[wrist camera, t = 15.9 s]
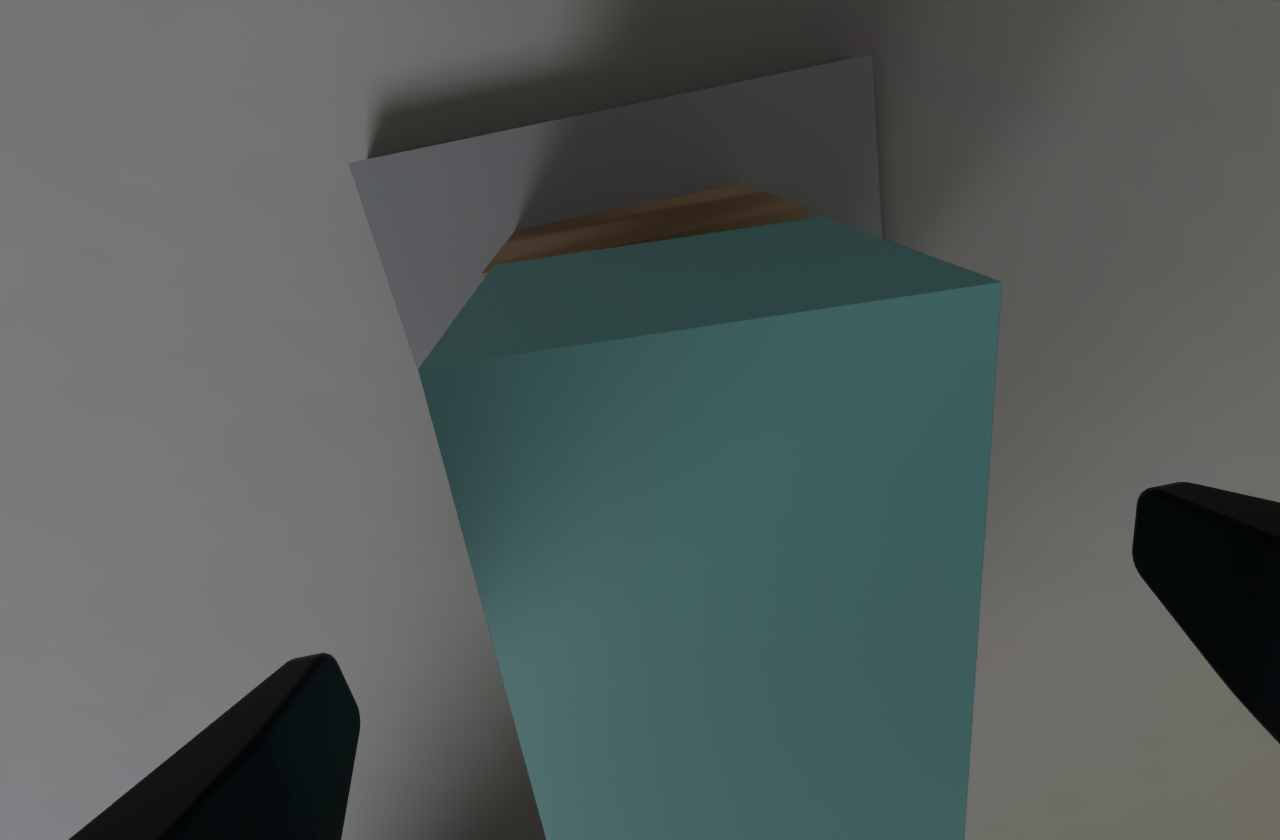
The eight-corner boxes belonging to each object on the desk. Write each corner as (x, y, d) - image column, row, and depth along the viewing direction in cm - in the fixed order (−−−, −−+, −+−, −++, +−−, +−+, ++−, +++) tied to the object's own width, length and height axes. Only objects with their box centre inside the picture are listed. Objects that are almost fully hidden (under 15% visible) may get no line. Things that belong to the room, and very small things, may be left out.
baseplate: (497, 567, 20) (492, 592, 19) (365, 161, 16) (348, 162, 14) (880, 490, 20) (897, 511, 19) (852, 59, 15) (872, 53, 14)
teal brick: (573, 634, 13) (564, 905, 9) (493, 265, 10) (418, 368, 6) (833, 594, 13) (964, 841, 9) (821, 216, 11) (1001, 282, 6)
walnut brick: (585, 506, 18) (583, 636, 13) (514, 230, 15) (481, 273, 11) (777, 467, 18) (842, 584, 13) (740, 183, 15) (807, 206, 10)
